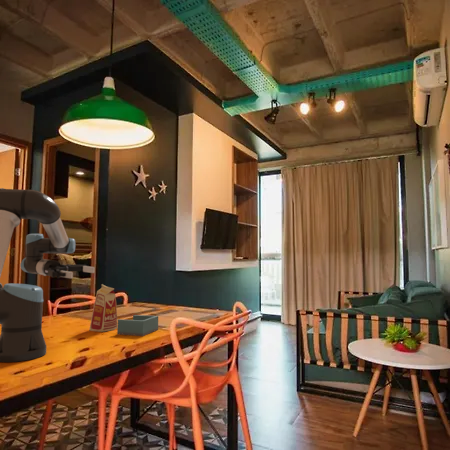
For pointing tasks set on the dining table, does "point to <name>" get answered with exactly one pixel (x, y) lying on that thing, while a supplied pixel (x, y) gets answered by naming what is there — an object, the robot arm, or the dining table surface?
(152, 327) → the box
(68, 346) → the dining table surface
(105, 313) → the milk carton
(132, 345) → the dining table surface
